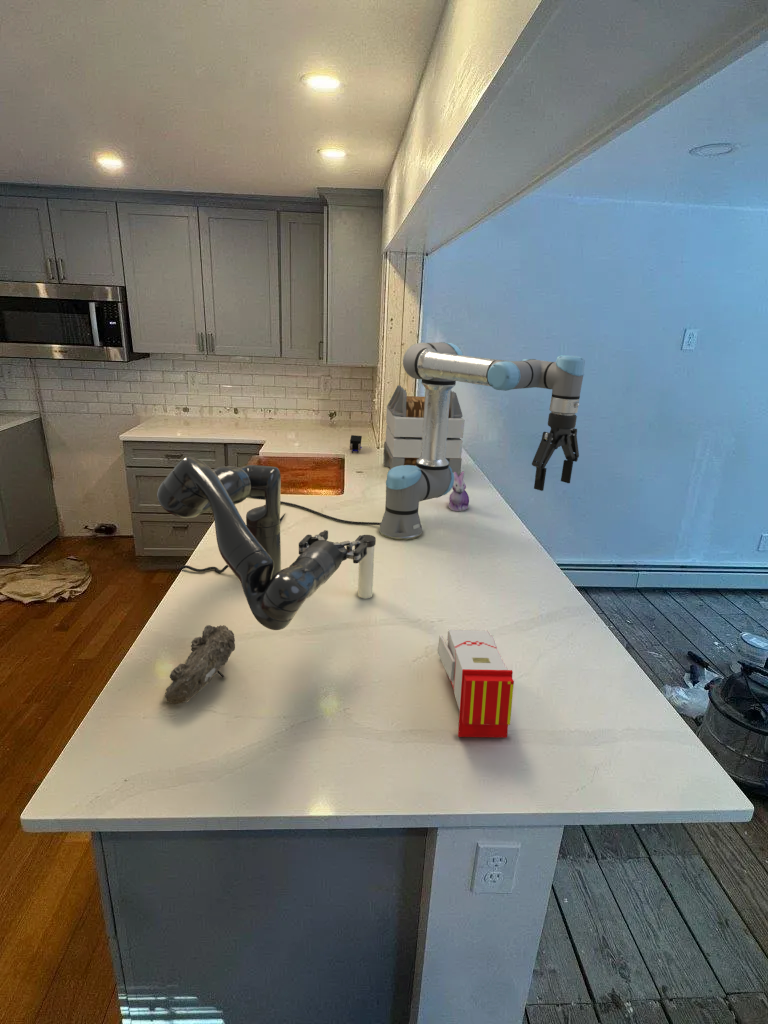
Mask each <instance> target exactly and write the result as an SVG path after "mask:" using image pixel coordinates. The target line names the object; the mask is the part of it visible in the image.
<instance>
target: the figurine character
mask: <svg viewBox="0 0 768 1024" xmlns="http://www.w3.org/2000/svg"><path fill="white" fill-rule="evenodd" d="M362 439H363V436H362V435H353V434H351V435H350V440H349V451H351V454H353V453H357V454H359V451H361V449H362V448H363V446H362Z"/></svg>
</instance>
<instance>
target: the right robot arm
mask: <svg viewBox="0 0 768 1024" xmlns="http://www.w3.org/2000/svg"><path fill="white" fill-rule="evenodd" d="M585 365H586V360H585V358H584V357H582V356H578V355H566V354H565V355H564V354H563V355H558V356H557V357H556V360H555V361H549V360H541V359H536V358H524V359H521V360H506V359H505V360H504V359H503V360H502V359H496V358H487V357H479V356H471V355H464V354H463V352H462V350H461V349H460V347H459V346H457V345H456V344H455V343H451V342H445V341H443V342H442V341H441V342H440V341H439V342H438V341H437V342H417V343H414V344H412V345H411V346H409V347H408V348H407V350H406V351H405V353H404V355H403V358H402V366H403V369H404V372H405V373H406V374H407V375H408V376H409V377H411V378H412V379H415V380H421V385H422V386H423V387H424V389H425V392H424V397H425V404H424V419H423V434H422V449H421V457H420V458H418V459H417V461H416V466H413V465H401V466H396V467H394V468H392V469H390V468H389V470H388V472H387V474H386V479H385V504H384V505H385V507H384V508H385V509H384V513H383V515H382V519H381V522H375V521H374V522H373V521H371V522H370V521H353V520H346V519H341V518H337V517H333V516H330V515H327V514H325V513H322V512H319V511H317V510H314V509H312V508H309V507H305V506H302V505H299V504H296V503H292V502H287V501H281V500H280V505H286V506H290V507H295V508H298V509H302V510H305V511H307V512H311V513H313V514H315V515H318V516H321V517H324V518H326V519H329V520H333V521H336V522H339V523H345V524H351V525H367V526H379V527H378V533H379V534H380V535H381V536H382V537H385V538H387V539H389V540H395V541H410V540H415V539H418V538H420V537H421V536H422V535H423V525H422V524H421V518H420V515H419V507H420V506H419V505H420V502H423V501H427V500H431V499H437V498H440V497H443V496H446V495H448V493H450V492H451V490H453V489H452V487H453V484H454V473H452V469H451V467H450V466H449V462H448V461H447V459H446V458H445V453H446V441H447V428H448V416H449V404H450V392H451V391H452V389H453V388H454V387H455V386H456V384H457V382H461V383H465V384H473V385H479V386H487V387H491V388H492V389H494V390H496V391H503V392H504V391H511V390H520V389H532V388H533V389H534V388H539V389H546V390H551V398H550V404H549V413H548V418H547V419H548V420H547V426H548V427H549V428H550V431H549V432H548V431H543V432H542V435H541V440H540V442H539V445H538V447H537V449H536V452H535V454H534V457H533V460H532V461H531V466H533V467H535V475H534V477H535V478H534V485H533V489H534V490H537V491H539V492H543V491H544V489H545V484H546V483H545V482H546V476H547V468H546V466H547V465H548V463H549V461H550V459H551V457H552V456H553V454H554V453H555V451H556V450H557V449H558V448H560V447H561V449H562V452H563V455H564V458H565V459H563V463H562V468H561V469H562V470H561V475H560V482H562V483H566V484H571V478H572V472H573V466H574V463H576V462H578V461H579V457H580V453H579V444H578V428H576V423H577V419H578V416H577V414H578V412H579V411H578V410H579V406H580V397H581V391H582V385H583V380H584V376H585Z"/></svg>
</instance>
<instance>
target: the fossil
mask: <svg viewBox="0 0 768 1024" xmlns="http://www.w3.org/2000/svg"><path fill="white" fill-rule="evenodd" d="M201 634H202V635H201V636H198V637H197V636H196V637H195V638H193V639H192V641H191V644H190V651H191V652H190V653H189V655H188V656H187V658H186V660H185V663H179V664H178V665H177V666H175V667H174V668H173V670H171V671H170V674H169V679H170V680H171V681H172V682H171V683H170V685H169V686H168V687H166V689H165V701H166V702H167V703H170V704H172V705H177V704H178V705H179V704H183V703H187V702H189V701H191V699H192V698H193V697H194V696H196V695H197V694H198V693H199V692H200V691H201V690H202V689H203V688H205V687H206V686H207V685H208V684H209V683H210V682H211V680H212V678H213V677H214V676H215V675H217V674H218V675H219V676H220V677H221V678H222V679H224V678H225V676H224V675H225V674H223V673H222V672H221V671H220V669H221V667H223V666H225V665H226V664H227V662H228V661H229V658H230V657H231V655H232V653H233V651H235V649H236V643H235V642H236V640H235V633H234V632H233V630H231V629H229V627H228V626H226V625H225V624H224V625H221V624H220V625H217V626H213V625H211V624H210V625H209V624H208V625H205V626H204V629H203V630H202V633H201Z"/></svg>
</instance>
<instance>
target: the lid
mask: <svg viewBox="0 0 768 1024" xmlns="http://www.w3.org/2000/svg"><path fill="white" fill-rule="evenodd" d="M361 535H362V536H363V538H365V543H367V547H372V546H374V547H375V546H376V542H377V537H376V536H375V535H371V534H361Z"/></svg>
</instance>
